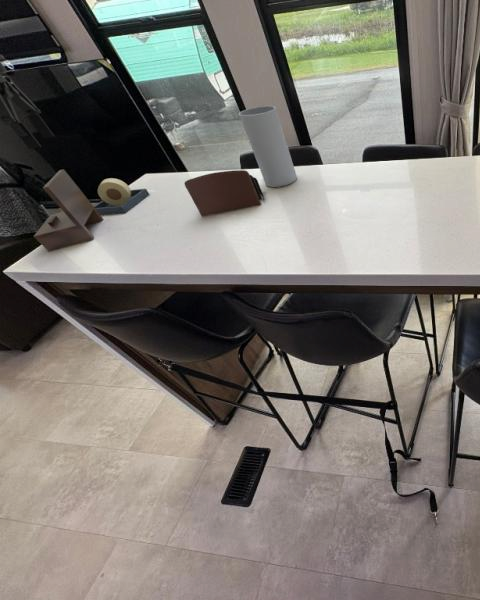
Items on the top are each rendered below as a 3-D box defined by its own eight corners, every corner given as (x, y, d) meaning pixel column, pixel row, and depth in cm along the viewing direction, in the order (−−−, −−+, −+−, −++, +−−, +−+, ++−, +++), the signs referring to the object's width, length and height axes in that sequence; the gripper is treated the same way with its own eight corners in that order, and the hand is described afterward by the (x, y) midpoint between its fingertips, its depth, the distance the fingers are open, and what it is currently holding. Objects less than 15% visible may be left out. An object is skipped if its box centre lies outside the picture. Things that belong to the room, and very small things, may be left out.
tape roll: (107, 208, 121) (91, 185, 115) (110, 203, 124) (94, 180, 118) (134, 202, 124) (120, 179, 118) (136, 198, 127) (122, 175, 121)
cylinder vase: (269, 177, 132) (243, 108, 115) (299, 173, 132) (278, 104, 116) (263, 189, 123) (234, 117, 106) (295, 185, 123) (272, 112, 106)
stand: (52, 255, 99) (-6, 198, 86) (67, 233, 110) (17, 178, 97) (97, 244, 102) (47, 186, 89) (106, 223, 113) (63, 169, 100)
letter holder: (263, 209, 111) (246, 168, 101) (203, 220, 108) (180, 179, 98) (264, 197, 118) (248, 157, 108) (208, 208, 115) (187, 168, 105)
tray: (126, 212, 118) (121, 206, 117) (93, 215, 119) (88, 209, 117) (149, 194, 130) (145, 188, 128) (120, 197, 130) (116, 191, 129)
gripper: (-28, 57, 77) (44, 149, 91) (12, 52, 94) (67, 131, 108) (-68, 61, 75) (12, 155, 89) (-21, 56, 92) (41, 135, 106)
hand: (43, 142), depth 99 cm, fingers open, 13 cm apart
